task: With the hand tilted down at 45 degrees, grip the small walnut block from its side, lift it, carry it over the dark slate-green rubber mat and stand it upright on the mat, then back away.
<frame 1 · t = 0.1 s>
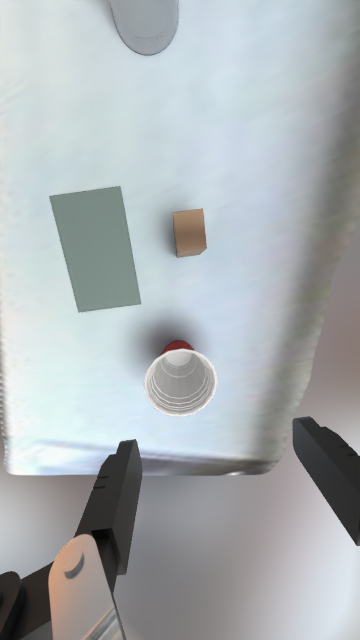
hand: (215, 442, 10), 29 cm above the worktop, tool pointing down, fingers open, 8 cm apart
mat: (98, 253, 35), on the worktop
plastic cup: (179, 352, 40), on the worktop
walnut block: (186, 241, 35), on the worktop
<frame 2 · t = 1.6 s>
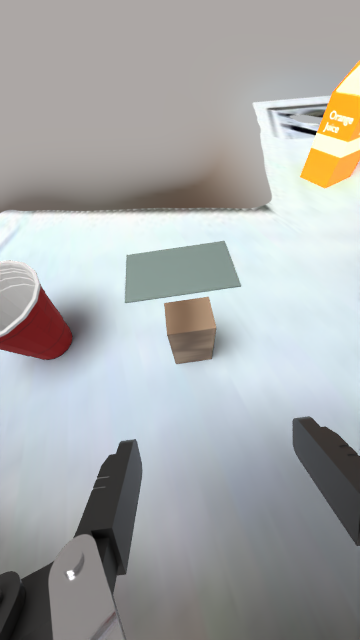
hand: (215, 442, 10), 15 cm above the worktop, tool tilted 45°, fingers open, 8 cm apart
mat: (178, 269, 37), on the worktop
plastic cup: (55, 344, 31), on the worktop
walnut block: (191, 348, 29), on the worktop
orange juice: (324, 177, 50), on the worktop
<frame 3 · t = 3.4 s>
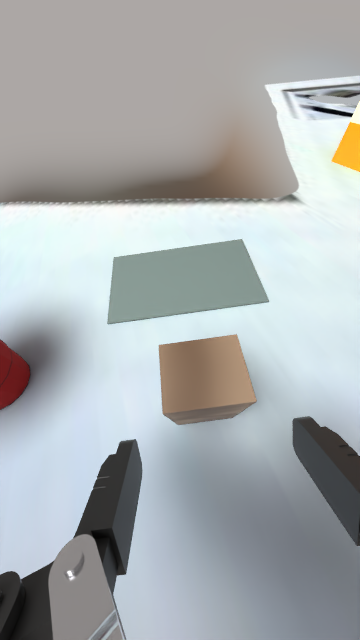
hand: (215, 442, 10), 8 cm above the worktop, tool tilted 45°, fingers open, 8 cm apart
mat: (182, 277, 27), on the worktop
plastic cup: (5, 385, 22), on the worktop
walnut block: (201, 398, 19), on the worktop
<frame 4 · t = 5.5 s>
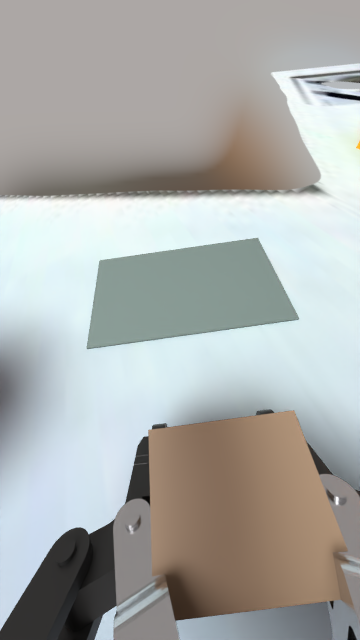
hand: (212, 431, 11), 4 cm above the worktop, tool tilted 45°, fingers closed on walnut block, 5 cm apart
mat: (184, 286, 22), on the worktop
walnut block: (214, 464, 13), on the worktop, touching gripper
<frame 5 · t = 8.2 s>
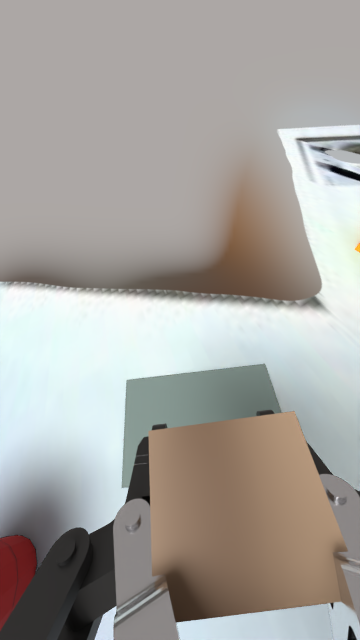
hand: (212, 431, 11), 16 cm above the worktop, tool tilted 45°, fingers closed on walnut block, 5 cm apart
mat: (201, 418, 25), on the worktop
plastic cup: (9, 578, 19), on the worktop
walnut block: (214, 465, 13), point 12 cm above the worktop, touching gripper
when the fingers open (5 cm above the worktop, at t = 11.1 s): walnut block stays where it is, resting on mat.
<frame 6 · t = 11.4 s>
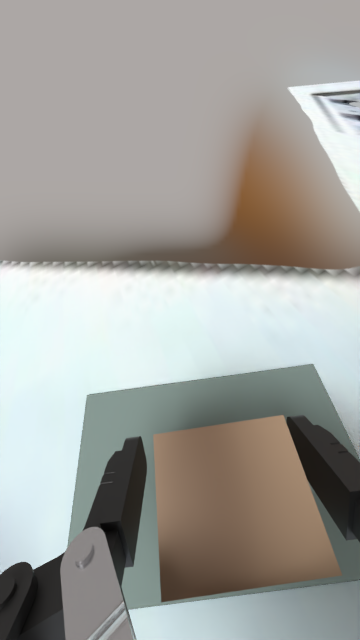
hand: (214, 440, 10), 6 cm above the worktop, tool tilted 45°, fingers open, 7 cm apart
mat: (213, 463, 14), on the worktop
walnut block: (213, 464, 14), resting on mat
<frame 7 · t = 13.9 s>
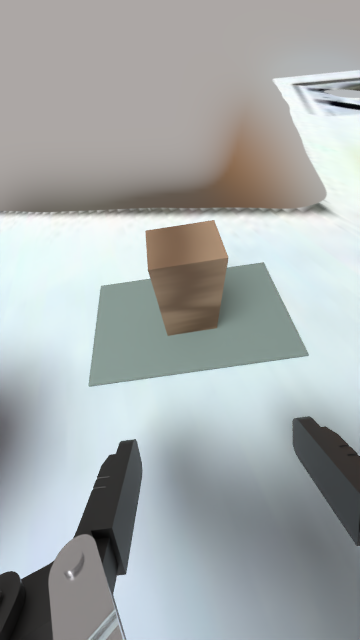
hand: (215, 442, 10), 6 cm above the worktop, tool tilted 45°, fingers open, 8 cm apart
mat: (188, 316, 21), on the worktop
walnut block: (189, 315, 21), resting on mat
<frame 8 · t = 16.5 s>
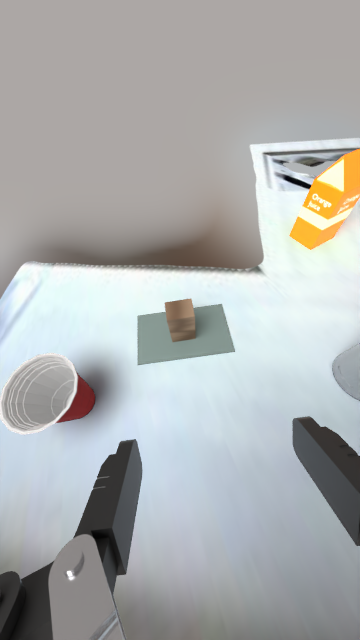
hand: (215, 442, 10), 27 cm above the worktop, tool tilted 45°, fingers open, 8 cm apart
mat: (182, 332, 44), on the worktop
plastic cup: (81, 403, 38), on the worktop
walnut block: (182, 332, 43), resting on mat
orange juice: (310, 237, 57), on the worktop
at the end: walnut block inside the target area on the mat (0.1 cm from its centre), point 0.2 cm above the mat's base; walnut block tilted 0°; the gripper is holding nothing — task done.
